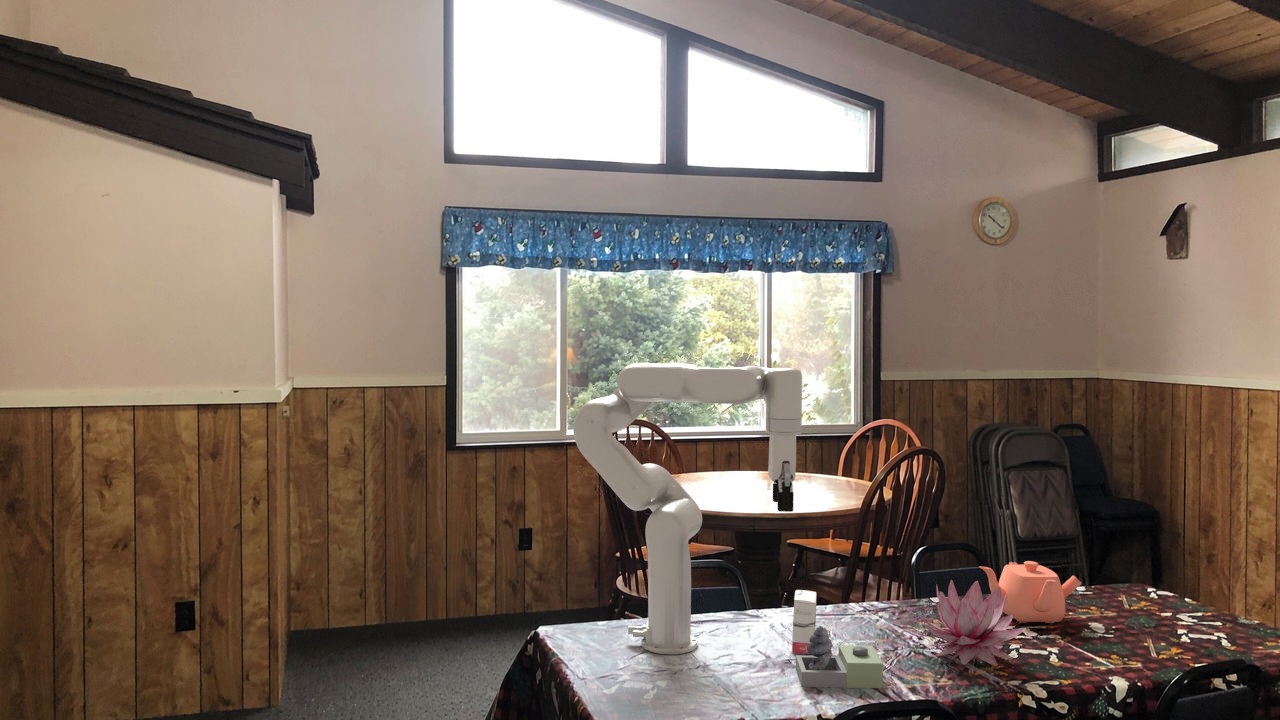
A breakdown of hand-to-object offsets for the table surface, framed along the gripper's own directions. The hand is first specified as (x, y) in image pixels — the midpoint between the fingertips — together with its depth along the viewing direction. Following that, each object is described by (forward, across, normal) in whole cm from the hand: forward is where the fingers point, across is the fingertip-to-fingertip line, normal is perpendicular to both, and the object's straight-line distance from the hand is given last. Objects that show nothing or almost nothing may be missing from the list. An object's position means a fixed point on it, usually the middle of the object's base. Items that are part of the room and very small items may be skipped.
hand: (782, 506), depth 197 cm
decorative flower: (+34, -4, +41) cm, 53 cm away
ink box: (+34, -8, +6) cm, 35 cm away
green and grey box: (+33, +9, +11) cm, 36 cm away
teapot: (+34, -31, +64) cm, 79 cm away
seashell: (+33, +9, +7) cm, 35 cm away
